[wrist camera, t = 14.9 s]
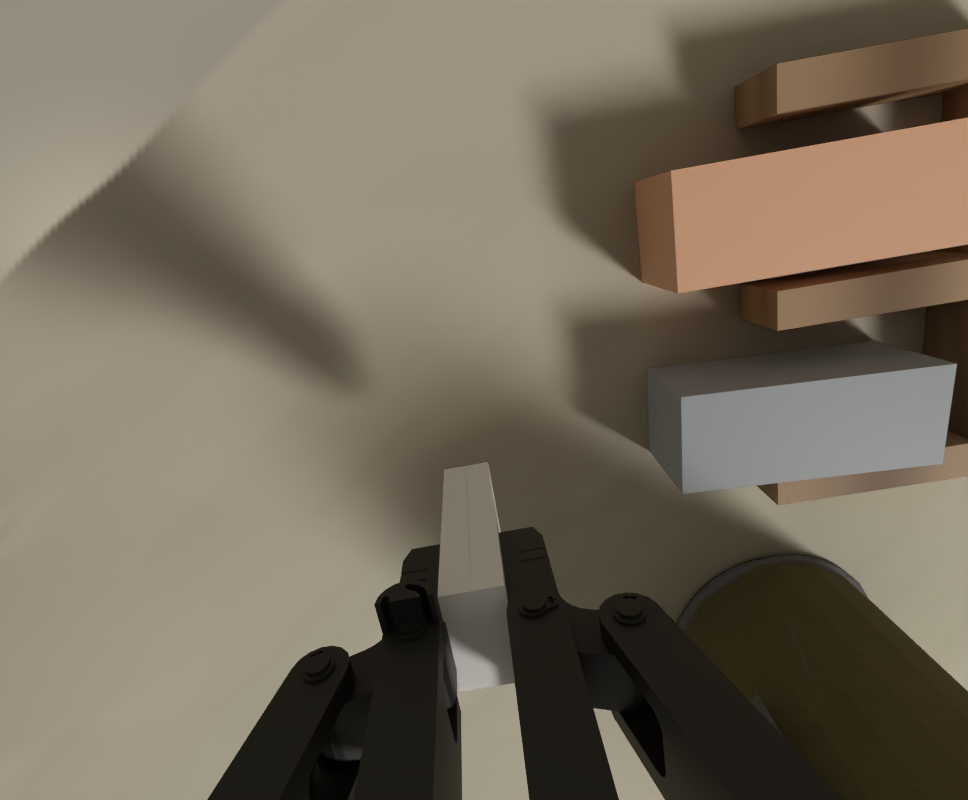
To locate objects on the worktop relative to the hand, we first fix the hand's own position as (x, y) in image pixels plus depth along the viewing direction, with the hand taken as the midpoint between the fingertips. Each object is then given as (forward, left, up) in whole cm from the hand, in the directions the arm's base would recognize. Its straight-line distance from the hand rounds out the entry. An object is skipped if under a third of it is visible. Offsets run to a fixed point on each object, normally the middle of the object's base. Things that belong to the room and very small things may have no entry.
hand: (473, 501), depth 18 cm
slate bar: (+13, -1, -7) cm, 15 cm away
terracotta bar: (+13, +7, -7) cm, 17 cm away
